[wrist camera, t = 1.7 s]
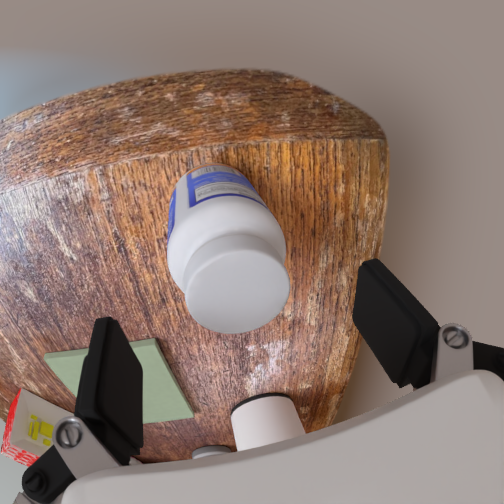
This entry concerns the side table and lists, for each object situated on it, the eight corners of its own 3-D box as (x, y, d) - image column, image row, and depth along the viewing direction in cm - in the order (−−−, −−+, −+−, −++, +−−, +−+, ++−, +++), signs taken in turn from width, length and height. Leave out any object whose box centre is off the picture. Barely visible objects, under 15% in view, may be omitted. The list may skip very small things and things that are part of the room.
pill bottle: (215, 252, 21) (243, 362, 13) (152, 208, 18) (137, 313, 10) (269, 195, 20) (335, 283, 12) (208, 142, 17) (236, 201, 9)
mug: (221, 400, 31) (239, 480, 23) (296, 383, 33) (326, 457, 24) (233, 434, 37) (248, 496, 29) (292, 420, 39) (314, 479, 30)
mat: (45, 352, 23) (43, 359, 22) (154, 337, 24) (154, 344, 24) (105, 421, 30) (105, 426, 30) (193, 411, 32) (194, 417, 31)
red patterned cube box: (75, 414, 29) (71, 468, 22) (57, 429, 30) (53, 476, 24) (20, 386, 24) (8, 442, 18) (9, 405, 26) (0, 453, 20)
